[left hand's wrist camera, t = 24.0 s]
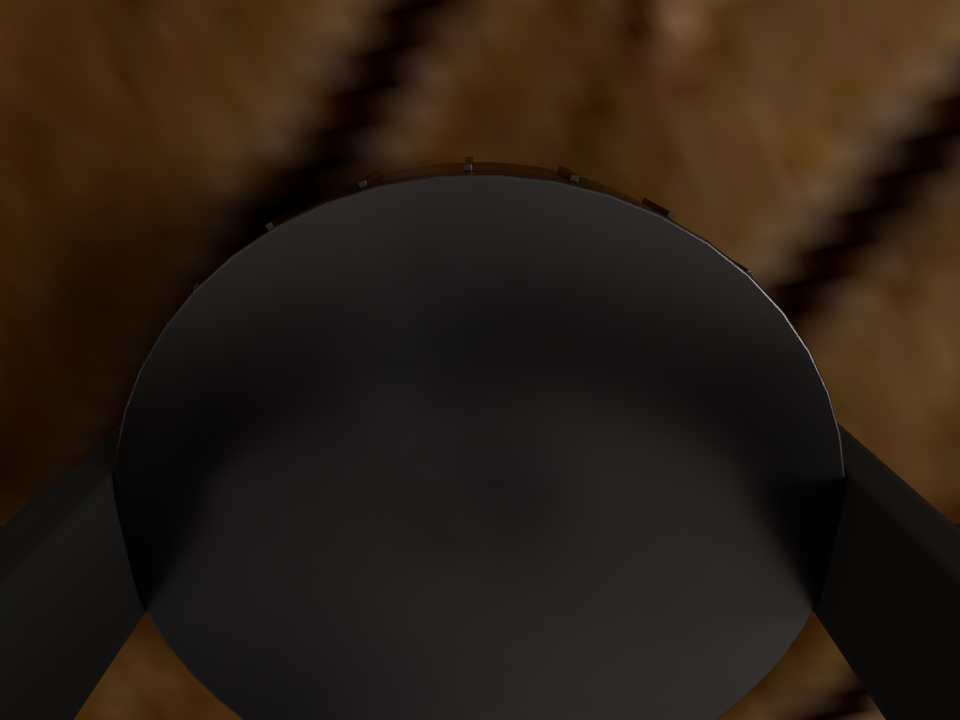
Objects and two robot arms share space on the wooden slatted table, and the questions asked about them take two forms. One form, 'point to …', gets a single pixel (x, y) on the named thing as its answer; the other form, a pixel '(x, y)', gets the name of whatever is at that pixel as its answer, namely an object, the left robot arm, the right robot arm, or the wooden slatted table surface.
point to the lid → (479, 461)
